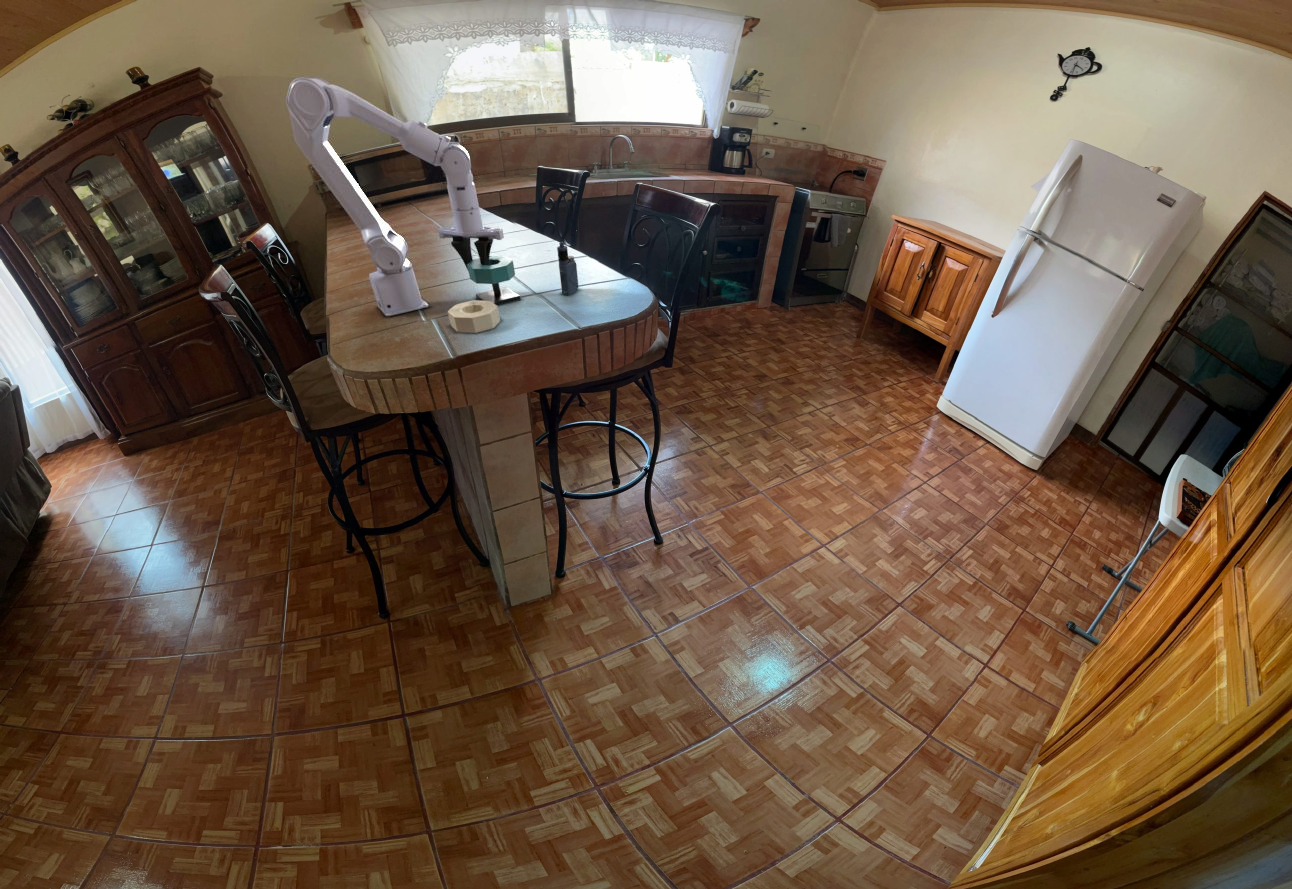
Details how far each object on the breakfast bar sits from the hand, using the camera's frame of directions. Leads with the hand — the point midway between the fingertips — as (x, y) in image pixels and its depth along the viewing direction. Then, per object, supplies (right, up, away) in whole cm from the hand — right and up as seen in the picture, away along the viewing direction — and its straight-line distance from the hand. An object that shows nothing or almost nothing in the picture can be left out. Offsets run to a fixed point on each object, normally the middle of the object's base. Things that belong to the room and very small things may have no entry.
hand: (478, 270), depth 118 cm
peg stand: (+4, -6, +4) cm, 8 cm away
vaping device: (+21, -3, +7) cm, 22 cm away
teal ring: (+3, -1, 0) cm, 3 cm away
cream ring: (+2, -14, -8) cm, 17 cm away
